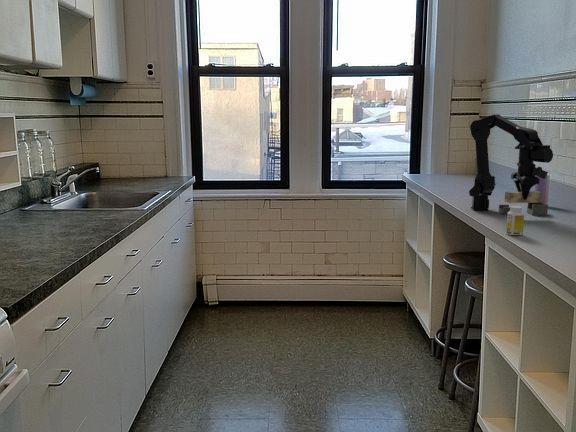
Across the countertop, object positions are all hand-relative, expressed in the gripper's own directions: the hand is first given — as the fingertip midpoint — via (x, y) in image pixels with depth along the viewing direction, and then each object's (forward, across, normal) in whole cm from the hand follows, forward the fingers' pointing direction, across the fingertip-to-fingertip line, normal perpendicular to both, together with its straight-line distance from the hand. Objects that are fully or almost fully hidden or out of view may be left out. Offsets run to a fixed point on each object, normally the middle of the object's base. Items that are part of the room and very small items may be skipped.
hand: (523, 198), depth 238 cm
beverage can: (+8, +31, -17) cm, 36 cm away
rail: (+1, 0, 0) cm, 1 cm away
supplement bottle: (+8, -33, +12) cm, 36 cm away
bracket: (+8, +10, -8) cm, 15 cm away
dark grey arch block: (+8, +10, +4) cm, 13 cm away
